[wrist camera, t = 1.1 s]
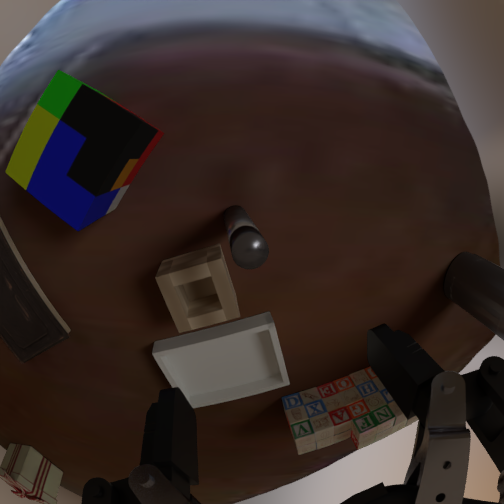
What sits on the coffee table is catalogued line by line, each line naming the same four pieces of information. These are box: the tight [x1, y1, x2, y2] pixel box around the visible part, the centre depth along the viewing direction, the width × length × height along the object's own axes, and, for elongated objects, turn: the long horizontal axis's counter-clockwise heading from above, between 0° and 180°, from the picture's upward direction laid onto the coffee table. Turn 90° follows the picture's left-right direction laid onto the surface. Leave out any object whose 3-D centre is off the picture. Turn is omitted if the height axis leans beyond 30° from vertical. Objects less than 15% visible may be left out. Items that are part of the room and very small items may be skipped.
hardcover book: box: [0, 217, 71, 364], centre depth 28 cm, size 16×23×2 cm
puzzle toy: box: [6, 70, 164, 232], centre depth 21 cm, size 10×10×10 cm
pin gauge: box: [224, 205, 269, 269], centre depth 25 cm, size 3×3×12 cm
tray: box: [152, 311, 290, 408], centre depth 36 cm, size 16×12×3 cm
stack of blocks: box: [282, 367, 419, 455], centre depth 38 cm, size 21×6×12 cm, turn 102°
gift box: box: [0, 443, 63, 504], centre depth 35 cm, size 17×18×17 cm
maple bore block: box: [155, 244, 240, 333], centre depth 30 cm, size 7×7×5 cm
